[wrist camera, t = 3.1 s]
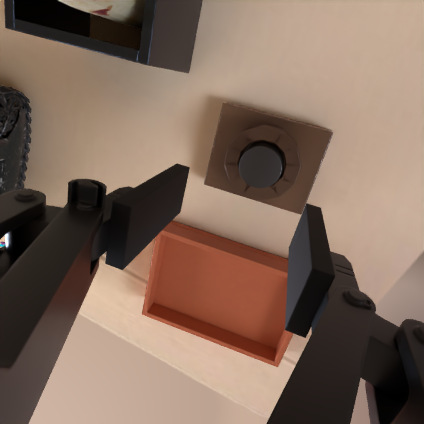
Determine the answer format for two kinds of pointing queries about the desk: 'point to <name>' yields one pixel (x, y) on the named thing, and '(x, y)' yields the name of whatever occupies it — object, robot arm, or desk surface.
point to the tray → (219, 291)
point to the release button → (260, 165)
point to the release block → (277, 137)
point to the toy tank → (13, 138)
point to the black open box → (79, 36)
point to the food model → (113, 9)
